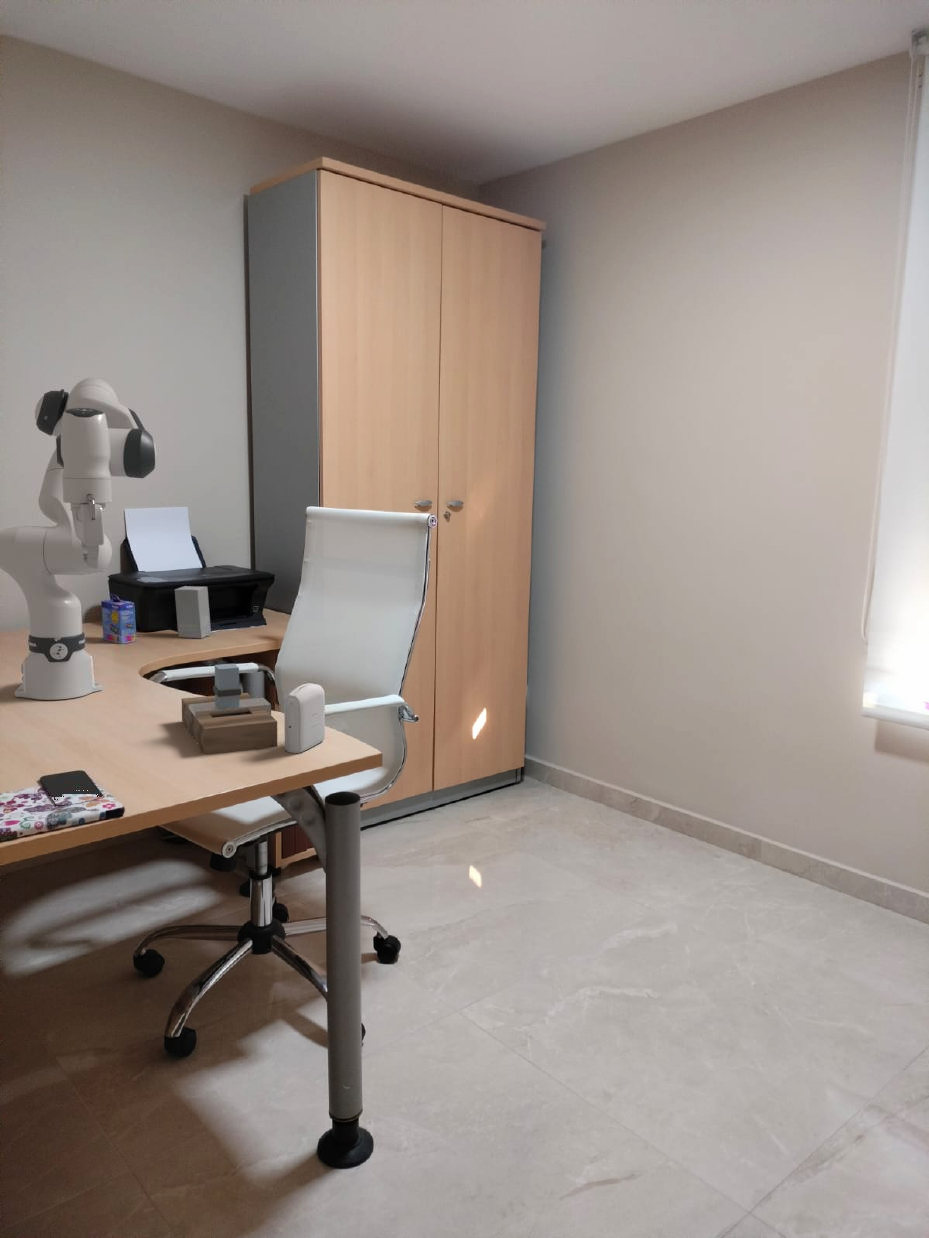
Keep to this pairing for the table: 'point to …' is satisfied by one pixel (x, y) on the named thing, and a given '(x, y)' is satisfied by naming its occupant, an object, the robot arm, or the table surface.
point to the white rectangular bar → (244, 706)
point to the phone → (69, 784)
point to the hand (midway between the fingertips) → (90, 564)
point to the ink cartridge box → (118, 620)
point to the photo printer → (304, 717)
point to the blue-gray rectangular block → (227, 685)
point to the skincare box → (192, 612)
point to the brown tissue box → (229, 728)
